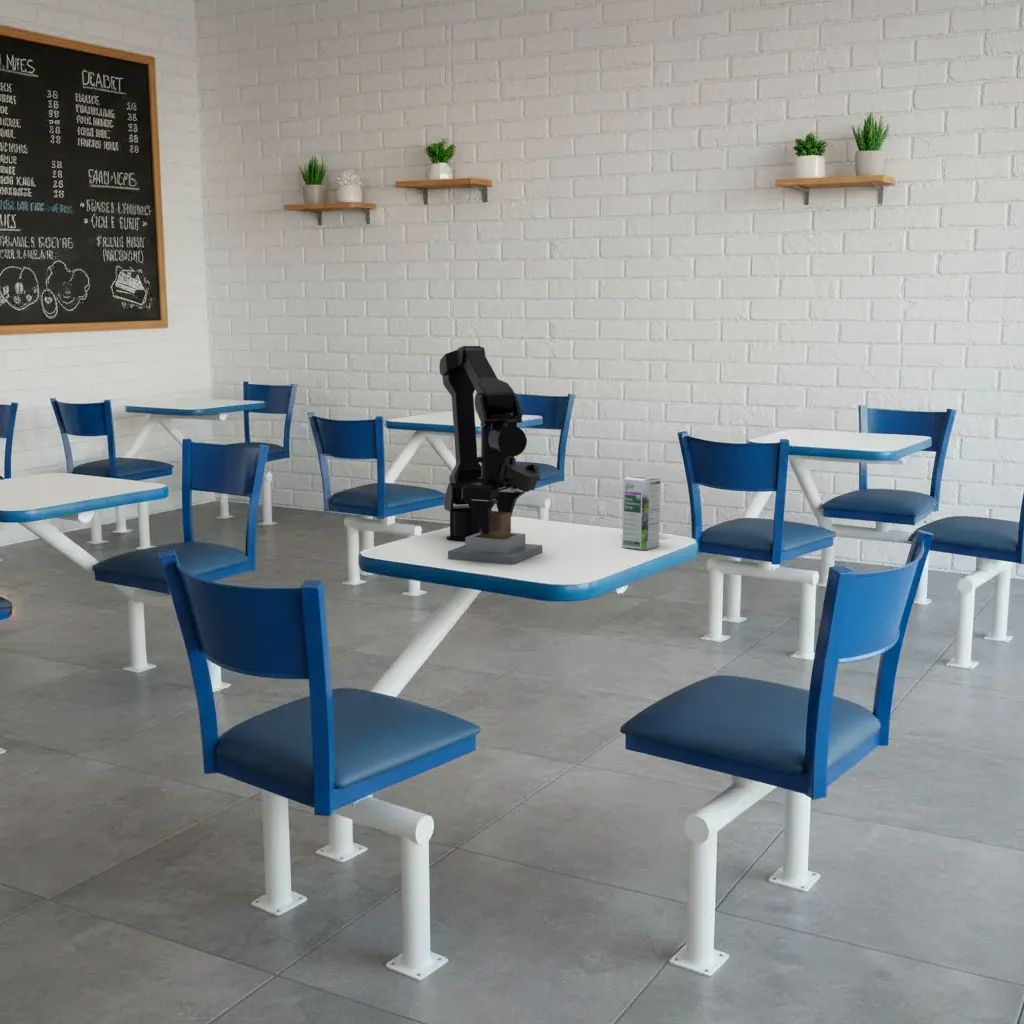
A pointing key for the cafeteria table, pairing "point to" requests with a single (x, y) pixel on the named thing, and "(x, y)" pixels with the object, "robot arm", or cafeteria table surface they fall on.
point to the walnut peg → (499, 526)
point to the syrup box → (641, 512)
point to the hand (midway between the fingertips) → (495, 530)
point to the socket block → (495, 549)
